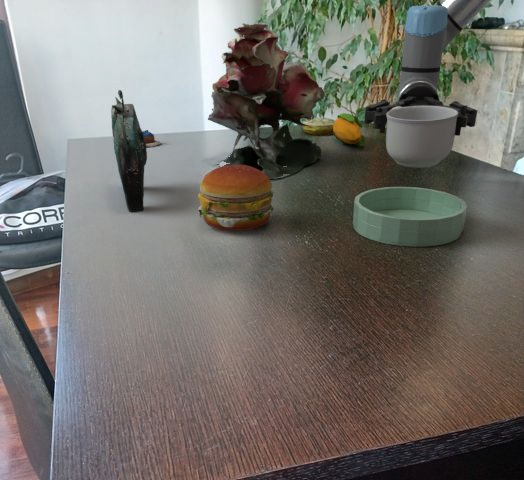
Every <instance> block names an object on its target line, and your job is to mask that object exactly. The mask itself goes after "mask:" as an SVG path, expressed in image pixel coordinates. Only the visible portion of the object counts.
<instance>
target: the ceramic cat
mask: <svg viewBox="0 0 524 480" xmlns="http://www.w3.org/2000/svg"><path fill="white" fill-rule="evenodd" d="M117 95H118V97H119V98H118V97H116V96H114V98H115V101H116V104H111V109H110V113H111V115H110V118H111V130H112V131H111V133H112V137H113V150H114V154H115V159H116V164H117V171H118V174H119V178H120V182H121V186H122V191H123V195H124V199H125V204H126V209H127V211H128V212H130V213H132V212H143V211H144V209H145V208H144V207H145V206H144V195H145V193H144V191H145V190H144V188H145V187H144V186H145V166H146V164H147V162H148V161H147V159H148V151H147V148H148V147H147V146H146V142H145V139H144V135H143V132H142V131H143V130H142V128H141V125H140V122H139V118H138V116H137V112H136V109H135V106H134V104H133V103H125V101H124V95H123V91H122V90H121V89H118V91H117Z"/></svg>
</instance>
